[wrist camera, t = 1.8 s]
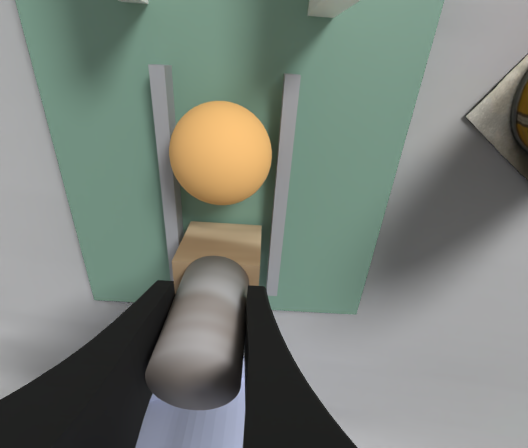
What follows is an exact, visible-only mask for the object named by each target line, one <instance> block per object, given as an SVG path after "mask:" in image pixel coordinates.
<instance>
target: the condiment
mask: <svg viewBox="0 0 528 448" xmlns="http://www.w3.org/2000/svg"><path fill="white" fill-rule="evenodd" d="M466 117H467V118H468V119H469V120H470V121H471V122H472V123H473V125H474V126H475V127H476V128H477V129H478V130H479V131H480V132H481V133H482V134H483V135H484V136H485V138H486V139H487V140H488V141H489V142H490V143H491V144H493V145H494V147H495V148H496V149H497V150H498V151H499V152H500V153H501V154H502V156H504V157H505V158H506V159H507V160H508V162H509V163H510V164H511V165H513V166H514V167H515V168H516V169H517V171H518V172H519V173H520V174H522V175H523V176H524V177H525V178H526V179H527V180H528V55H527V56H526V57H525V58H524V59H523V60H522V61H521V62H520V63H519V64H518V65H517V66H516V67H515V68H514V69H513V70H512V71H511V72H510V73H509V74H508V75H507V76H506V77H505V78H504V79H503V80H502V81H501V82H500V83H499V84H498V85H497V87H496V88H495V89H494V90H493V91H492V92H490V93H489V94H488V95H487V96H486V97H485V98H484V99H483V100H482V101H481V102H480V103H479V104H478V105H477V106H476V107H475V108H474V109H473V110H472V111H471V112H470V113H469V114H468V115H467V116H466Z"/></svg>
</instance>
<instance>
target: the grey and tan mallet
mask: <svg viewBox="0 0 528 448" xmlns="http://www.w3.org/2000/svg"><path fill="white" fill-rule="evenodd" d="M261 229H262V225H246V224H229V223H213V222H197V221H191V222H190V224H189V226H188V228H187V230H186V232H185V234H184V237H183V239H182V241H181V243H180V245H179V247H178V249H177V251H176V253H175V255H174V257H173V260H172V270H173V280H174V289H175V297H174V300H173V303H172V305H171V308H170V310H169V313H168V315H167V318H166V320H165V323H164V325H163V328H162V330H161V333H160V335H159V338H158V341H157V343H156V346H155V348H154V351H153V353H152V356H151V358H150V361H149V363H148V366H147V369H146V371H145V381H146V384H147V386H148V388H149V389H150V391H151V392H152V393H153V394H154V395H155V396H156V397H158V398H159V399H161V400H162V401H164V402H166V403H168V404H170V405H172V406H175V407H178V408H182V409H188V410H210V409H215V408H219V407H221V406H224V405H226V404H228V403H229V402H231V401H232V400H233V399H234V398H235V397H236V396H237V395H238V393H239V391H240V389H241V380H242V368H243V356H244V344H245V331H246V302H247V290H248V285H253V286H259V275H260V255H261Z"/></svg>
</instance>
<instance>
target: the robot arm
mask: <svg viewBox="0 0 528 448" xmlns="http://www.w3.org/2000/svg"><path fill="white" fill-rule="evenodd" d="M174 297H175V289H174V281H165V280H157V281H156V282H155V283H154V284H153V285H152V286H151V287H150V288H149V289H148V290H147V291H146V292H145V293H144V294H143V295H142V296H141V297H140V298H138V299H137V300H136V301H135V302H134V303H133V304H132V305H131V306H130V307H129V308H128V309H127V310H126V311H125V312H124V313H122V314H121V315H120V316H119V317H118V318H117V319H116V320H115V321H114V322H112V323H111V324H110V325H109V326H108V327H107V328H105V329H104V330H103V331H102V332H101V333H99V334H98V335H97V336H96V337H95V338H93V339H92V340H91V341H90V342H88V343H87V344H86V345H84V346H83V347H82V348H80V349H79V350H78V351H76V352H75V353H74V354H72V355H71V356H70V357H68V358H67V359H65V360H64V361H62V362H61V363H60V364H58V365H56V366H55V367H53V368H52V369H50V370H49V371H47V372H46V373H44V374H42V375H41V376H39V377H38V378H36V379H35V380H33V381H32V382H30V383H28V384H27V385H25V386H23V387H22V388H20V389H18V390H17V391H15V392H13V393H11V394H10V395H8V396H6V397H4V398H3V399H1V400H0V448H357V447H356V445H355V444H354V443H353V442H352V441H351V440H350V438H349V437H348V436H347V435H346V434H345V432H344V431H343V430H342V429H341V428H340V426H339V425H338V424H337V422H336V421H335V420H334V419H333V417H332V416H331V415H330V414H329V412H328V411H327V409H326V408H325V407H324V405H323V404H322V402H321V401H320V400H319V398H318V397H317V395H316V394H315V393H314V391H313V390H312V388H311V387H310V385H309V384H308V382H307V381H306V379H305V377H304V376H303V374H302V373H301V371H300V369H299V368H298V366H297V364H296V362H295V361H294V359H293V357H292V355H291V353H290V351H289V349H288V347H287V345H286V343H285V341H284V339H283V337H282V335H281V333H280V330H279V328H278V325H277V323H276V320H275V318H274V315H273V312H272V309H271V306H270V303H269V299H268V295H267V289H266V288H265V287H264V286H253V285H248V290H247V302H246V331H245V344H244V358H243V368H242V380H241V389H240V391H239V393H238V395H237V396H236V397H235V398H234V399H233V400H232V401H231V402H229V403H228V404H226V405H224V406H221V407H219V408H215V409H210V410H188V409H182V408H178V407H175V406H172V405H170V404H168V403H166V402H164V401H162V400H161V399H159V398H158V397H156V396H155V395H154V394H153V393H152V392H151V391H150V389H149V388H148V386H147V384H146V381H145V371H146V369H147V366H148V363H149V361H150V358H151V356H152V353H153V351H154V348H155V346H156V343H157V341H158V338H159V335H160V333H161V330H162V328H163V325H164V323H165V320H166V318H167V315H168V313H169V310H170V308H171V305H172V303H173V300H174ZM148 404H149V405H148ZM147 407H148V408H147Z"/></svg>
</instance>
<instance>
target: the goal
mask: <svg viewBox="0 0 528 448" xmlns="http://www.w3.org/2000/svg"><path fill="white" fill-rule="evenodd" d="M118 1H121V2H129V3H142V4H148V0H118ZM359 1H360V0H309V6H308V15H307V16H315V17H329V18H334V17H336V16H337V15H339V14H340V13H342V12H343V11H345V10H346V9H348V8H349V7H351V6H353V5H354V4H356V3H357V2H359Z"/></svg>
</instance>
